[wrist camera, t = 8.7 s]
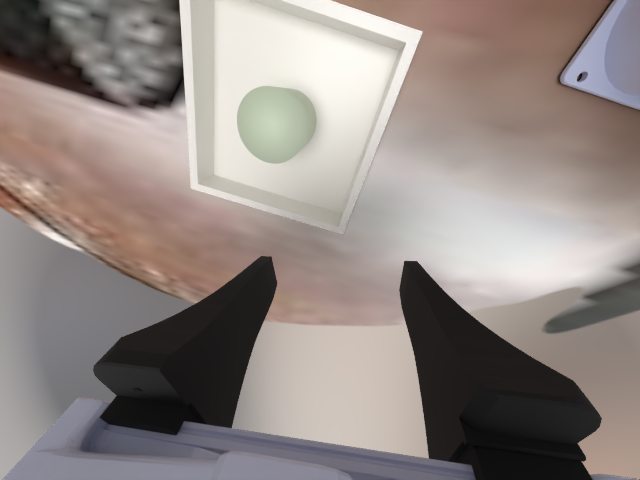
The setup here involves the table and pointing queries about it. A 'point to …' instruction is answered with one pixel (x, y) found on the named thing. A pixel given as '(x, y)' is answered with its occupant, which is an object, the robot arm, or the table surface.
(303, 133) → the sage capsule
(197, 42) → the bin
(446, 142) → the table surface
